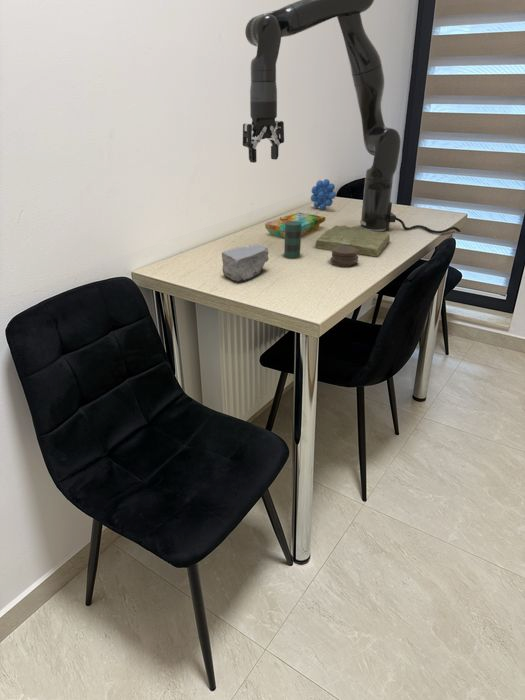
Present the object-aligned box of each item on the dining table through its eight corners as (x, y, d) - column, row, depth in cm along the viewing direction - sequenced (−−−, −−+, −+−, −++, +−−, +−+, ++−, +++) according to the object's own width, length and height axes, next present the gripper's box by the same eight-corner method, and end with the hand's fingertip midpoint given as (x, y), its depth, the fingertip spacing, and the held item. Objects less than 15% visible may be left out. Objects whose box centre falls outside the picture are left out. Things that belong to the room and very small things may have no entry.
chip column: (298, 253, 159) (299, 220, 154) (301, 258, 155) (302, 224, 150) (282, 253, 159) (283, 221, 154) (285, 258, 154) (286, 225, 150)
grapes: (340, 210, 207) (342, 179, 201) (330, 213, 202) (332, 181, 197) (316, 205, 214) (318, 175, 208) (306, 208, 209) (308, 177, 203)
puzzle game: (265, 221, 174) (297, 209, 188) (265, 234, 176) (297, 222, 190) (294, 226, 168) (325, 214, 182) (294, 241, 170) (324, 227, 184)
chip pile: (353, 258, 155) (354, 245, 153) (360, 266, 148) (362, 253, 146) (327, 259, 154) (328, 246, 152) (334, 268, 147) (335, 254, 146)
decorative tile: (376, 257, 156) (378, 245, 154) (314, 247, 164) (315, 236, 162) (392, 241, 170) (393, 230, 169) (334, 233, 178) (335, 222, 177)
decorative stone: (216, 281, 139) (249, 285, 135) (214, 256, 135) (248, 259, 132) (240, 265, 150) (271, 268, 147) (238, 241, 147) (271, 244, 144)
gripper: (253, 101, 138) (254, 165, 146) (290, 99, 147) (290, 159, 154) (235, 100, 143) (237, 162, 151) (272, 98, 152) (272, 157, 159)
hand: (263, 160), depth 153 cm, fingers open, 8 cm apart
